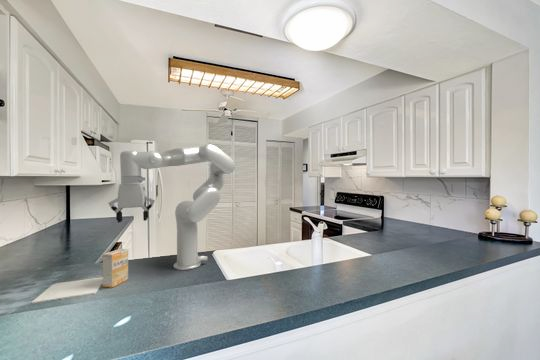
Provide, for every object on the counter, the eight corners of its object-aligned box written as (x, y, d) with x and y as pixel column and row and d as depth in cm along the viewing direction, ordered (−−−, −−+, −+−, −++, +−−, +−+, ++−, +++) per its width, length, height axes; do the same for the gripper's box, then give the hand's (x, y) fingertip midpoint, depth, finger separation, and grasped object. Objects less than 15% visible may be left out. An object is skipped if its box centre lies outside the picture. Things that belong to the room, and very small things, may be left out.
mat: (106, 278, 102) (106, 276, 102) (95, 294, 87) (95, 292, 87) (53, 285, 95) (53, 283, 95) (31, 304, 80) (31, 302, 80)
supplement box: (112, 288, 92) (112, 254, 92) (101, 287, 93) (101, 253, 93) (129, 279, 100) (128, 248, 100) (119, 278, 101) (119, 248, 101)
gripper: (155, 179, 106) (157, 218, 106) (111, 181, 102) (113, 221, 102) (151, 180, 99) (153, 221, 99) (104, 181, 94) (105, 224, 94)
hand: (132, 221), depth 100 cm, fingers open, 9 cm apart
